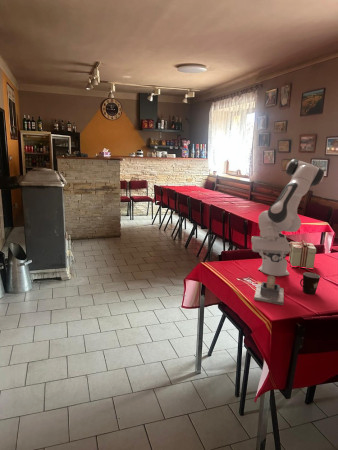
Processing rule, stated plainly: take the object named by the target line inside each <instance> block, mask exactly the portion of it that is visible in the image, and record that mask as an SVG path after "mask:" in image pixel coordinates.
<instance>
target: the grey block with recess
mask: <svg viewBox="0 0 338 450" xmlns="http://www.w3.org/2000/svg"><path fill="white" fill-rule="evenodd" d="M266 285H267V281H266V282H265V281H262V282H261V283H257V284H256V288H255V293H254V296H253V298H254V299H253V300H254V301H258V302H263V303H267V304H268V303H269V304H274V305H281V306H284V302H285V301H284V296H285V295H284V294H285V293H284V290H285V289H284V287H281V286H280V285H279V284H277V283H275V286H274V289H270V288H266Z"/></svg>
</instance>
